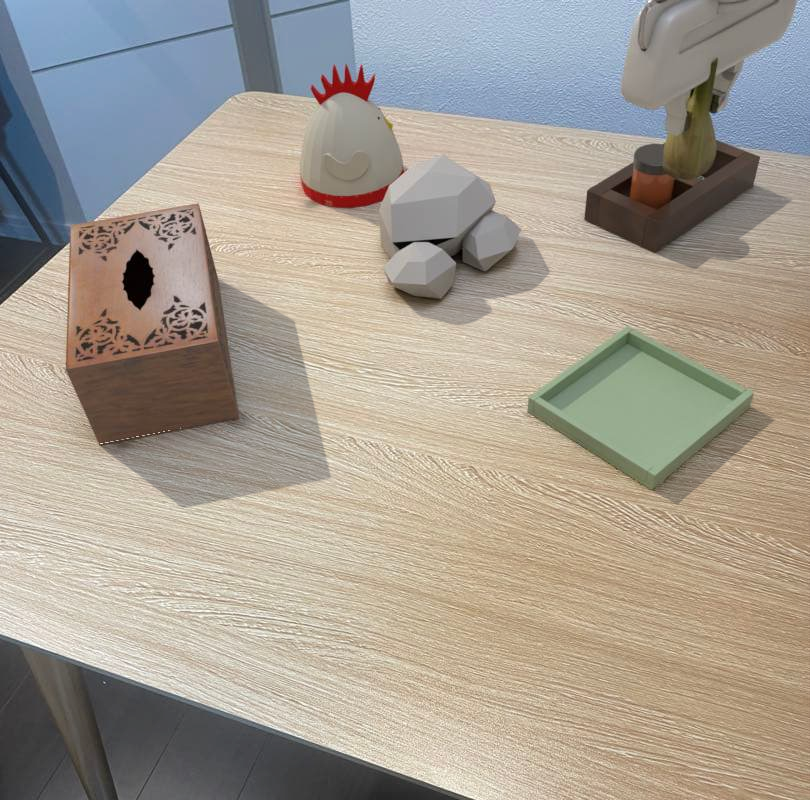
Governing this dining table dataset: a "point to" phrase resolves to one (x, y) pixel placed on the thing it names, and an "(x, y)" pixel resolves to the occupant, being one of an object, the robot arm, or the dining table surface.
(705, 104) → the fennel bulb
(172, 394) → the tissue box cover
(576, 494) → the dining table surface
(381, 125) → the kitchen timer
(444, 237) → the rock
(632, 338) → the tray
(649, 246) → the rack
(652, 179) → the spice jar
